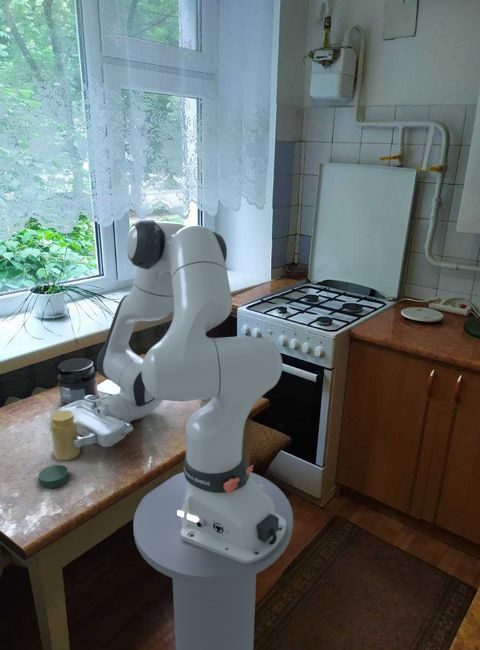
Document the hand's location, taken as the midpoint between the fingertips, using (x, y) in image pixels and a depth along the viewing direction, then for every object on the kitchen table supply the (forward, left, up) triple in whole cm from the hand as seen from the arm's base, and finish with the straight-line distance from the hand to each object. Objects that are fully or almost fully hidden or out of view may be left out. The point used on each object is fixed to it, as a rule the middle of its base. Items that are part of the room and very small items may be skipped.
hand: (62, 437), depth 118 cm
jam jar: (0, -1, -5) cm, 5 cm away
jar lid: (-7, +7, -4) cm, 11 cm away
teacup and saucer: (+17, -38, -5) cm, 42 cm away
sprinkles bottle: (-14, -37, -5) cm, 39 cm away
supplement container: (+20, -19, -5) cm, 28 cm away
